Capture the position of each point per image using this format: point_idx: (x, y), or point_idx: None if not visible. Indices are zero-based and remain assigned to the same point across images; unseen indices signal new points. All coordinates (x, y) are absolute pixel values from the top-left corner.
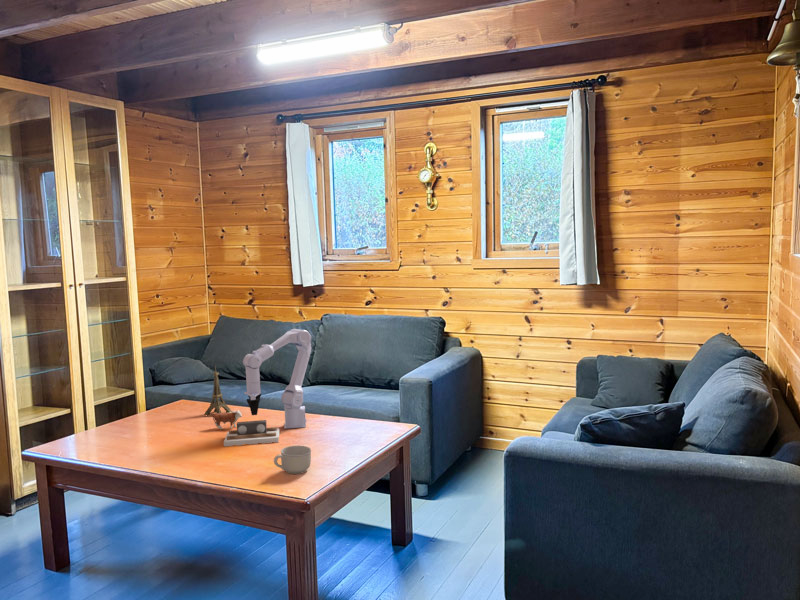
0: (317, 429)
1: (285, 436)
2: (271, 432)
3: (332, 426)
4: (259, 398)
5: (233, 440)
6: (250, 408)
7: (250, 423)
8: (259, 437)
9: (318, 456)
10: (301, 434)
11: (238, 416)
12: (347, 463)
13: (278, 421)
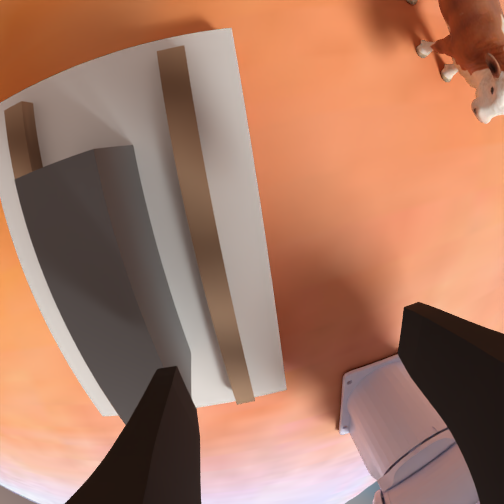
0: (297, 464)
1: (205, 409)
2: (192, 377)
3: (321, 478)
4: (473, 473)
5: (3, 169)
6: (109, 451)
7: (68, 324)
8: None
9: (27, 470)
10: (234, 447)
11: (478, 92)
12: (22, 491)
13: (470, 296)
